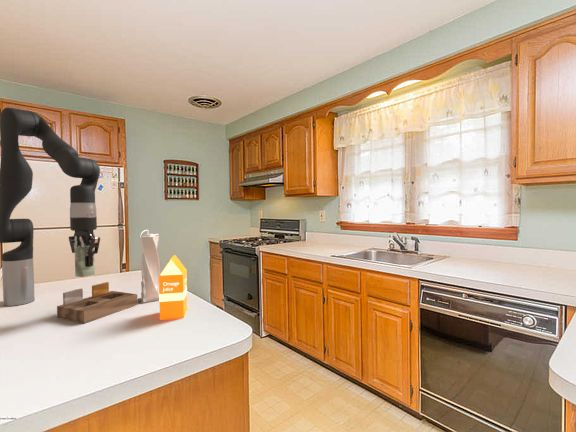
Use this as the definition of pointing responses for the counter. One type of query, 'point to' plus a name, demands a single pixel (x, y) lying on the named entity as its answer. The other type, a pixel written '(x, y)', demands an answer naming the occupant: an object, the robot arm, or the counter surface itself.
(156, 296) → the skyscraper
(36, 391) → the counter surface
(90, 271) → the green plug
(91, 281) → the counter surface
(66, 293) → the socket block
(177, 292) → the orange juice
